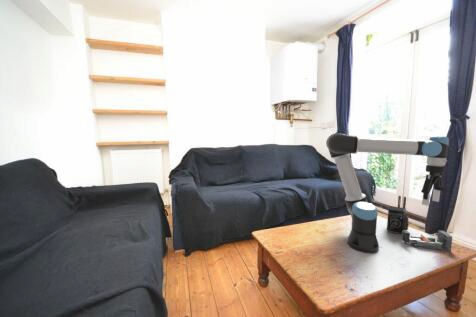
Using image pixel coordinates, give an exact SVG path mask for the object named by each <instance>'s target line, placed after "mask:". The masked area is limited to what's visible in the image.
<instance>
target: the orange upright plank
mask: <svg viewBox="0 0 476 317" xmlns="http://www.w3.org/2000/svg"><path fill="white" fill-rule="evenodd" d="M420 237H423V238H421V240H422V241H426V242H429V241H430V240H428V239H427V238H426V237H427V236H425V235H423V234H420Z"/></svg>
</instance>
